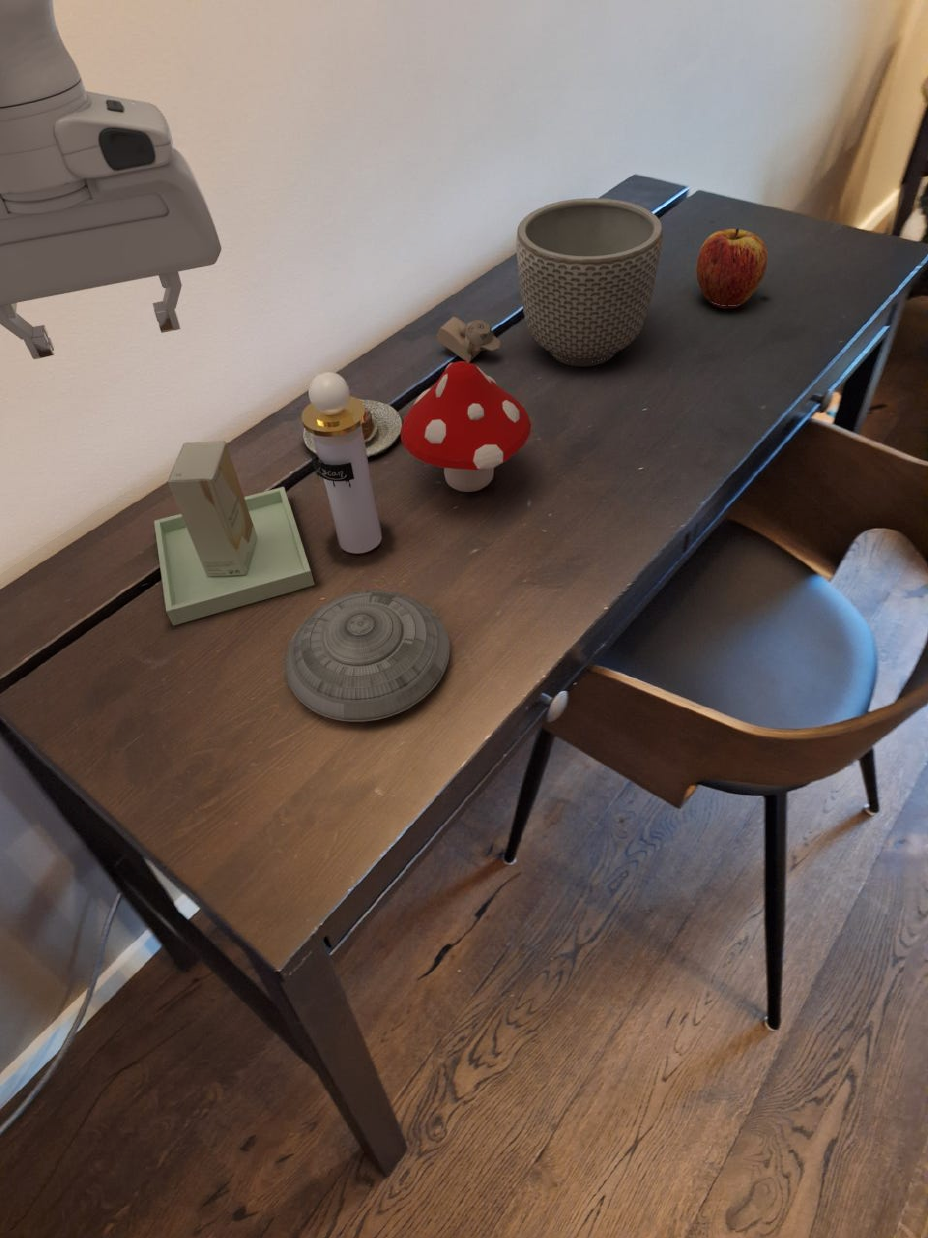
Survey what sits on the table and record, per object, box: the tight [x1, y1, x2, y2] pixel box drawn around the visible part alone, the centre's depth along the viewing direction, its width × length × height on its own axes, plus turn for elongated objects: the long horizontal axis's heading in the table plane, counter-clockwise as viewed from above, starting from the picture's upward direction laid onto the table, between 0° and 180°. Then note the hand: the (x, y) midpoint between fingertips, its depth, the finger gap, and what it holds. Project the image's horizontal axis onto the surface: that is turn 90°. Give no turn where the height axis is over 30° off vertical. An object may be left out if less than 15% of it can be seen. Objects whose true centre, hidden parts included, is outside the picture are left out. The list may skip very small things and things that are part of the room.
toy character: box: [435, 316, 501, 363], centre depth 107 cm, size 4×8×6 cm, turn 58°
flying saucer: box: [284, 589, 451, 723], centre depth 73 cm, size 15×15×6 cm
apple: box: [695, 228, 768, 310], centre depth 110 cm, size 9×9×10 cm
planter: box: [515, 197, 664, 368], centre depth 102 cm, size 17×17×16 cm
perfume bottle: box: [301, 371, 383, 554], centre depth 78 cm, size 6×6×20 cm
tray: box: [153, 486, 316, 626], centre depth 84 cm, size 14×14×2 cm
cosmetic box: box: [167, 441, 257, 576], centre depth 80 cm, size 6×4×12 cm
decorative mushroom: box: [400, 360, 532, 493], centre depth 85 cm, size 14×14×15 cm
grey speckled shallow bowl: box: [302, 398, 403, 458], centre depth 97 cm, size 12×12×5 cm
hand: (108, 340), depth 62 cm, fingers open, 8 cm apart
